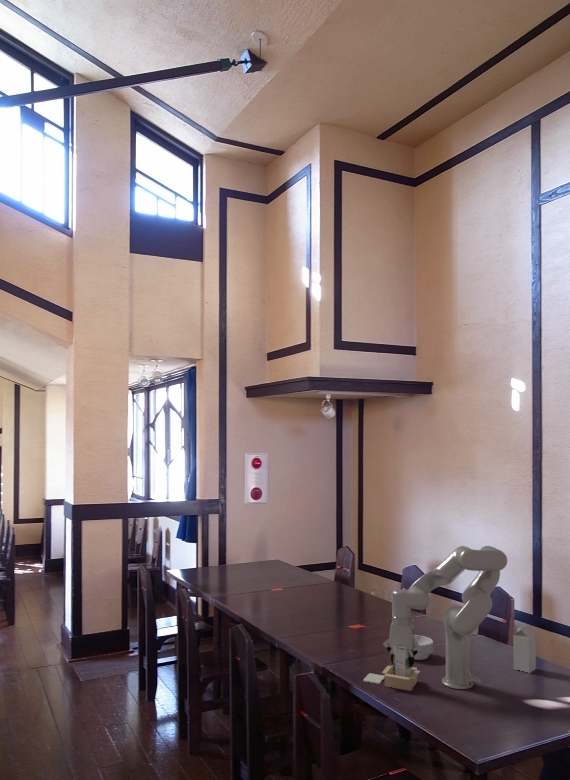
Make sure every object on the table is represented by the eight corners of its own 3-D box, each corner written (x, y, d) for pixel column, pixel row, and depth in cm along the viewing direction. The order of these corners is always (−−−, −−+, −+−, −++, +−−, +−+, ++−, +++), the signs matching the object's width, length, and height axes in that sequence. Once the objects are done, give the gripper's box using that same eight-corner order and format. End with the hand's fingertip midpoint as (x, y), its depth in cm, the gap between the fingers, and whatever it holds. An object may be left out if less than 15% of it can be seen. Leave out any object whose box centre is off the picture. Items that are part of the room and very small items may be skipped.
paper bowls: (420, 664, 285) (420, 646, 286) (393, 656, 297) (393, 638, 298) (440, 657, 295) (440, 640, 296) (413, 649, 307) (413, 632, 308)
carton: (421, 681, 266) (421, 668, 266) (413, 693, 252) (413, 680, 253) (389, 675, 272) (389, 663, 272) (379, 687, 258) (379, 674, 259)
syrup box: (400, 676, 266) (399, 640, 267) (412, 679, 262) (411, 643, 264) (393, 680, 262) (392, 644, 263) (406, 683, 258) (405, 647, 259)
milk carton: (536, 669, 281) (535, 625, 283) (529, 673, 276) (528, 629, 278) (520, 665, 286) (519, 622, 288) (513, 669, 281) (513, 625, 282)
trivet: (385, 677, 269) (385, 675, 269) (379, 684, 261) (379, 682, 261) (369, 674, 272) (369, 673, 272) (363, 681, 264) (363, 680, 264)
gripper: (424, 620, 264) (425, 664, 262) (383, 616, 271) (384, 659, 270) (420, 625, 257) (421, 670, 256) (378, 620, 264) (379, 664, 263)
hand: (402, 664), depth 263 cm, fingers closed on syrup box, 6 cm apart
